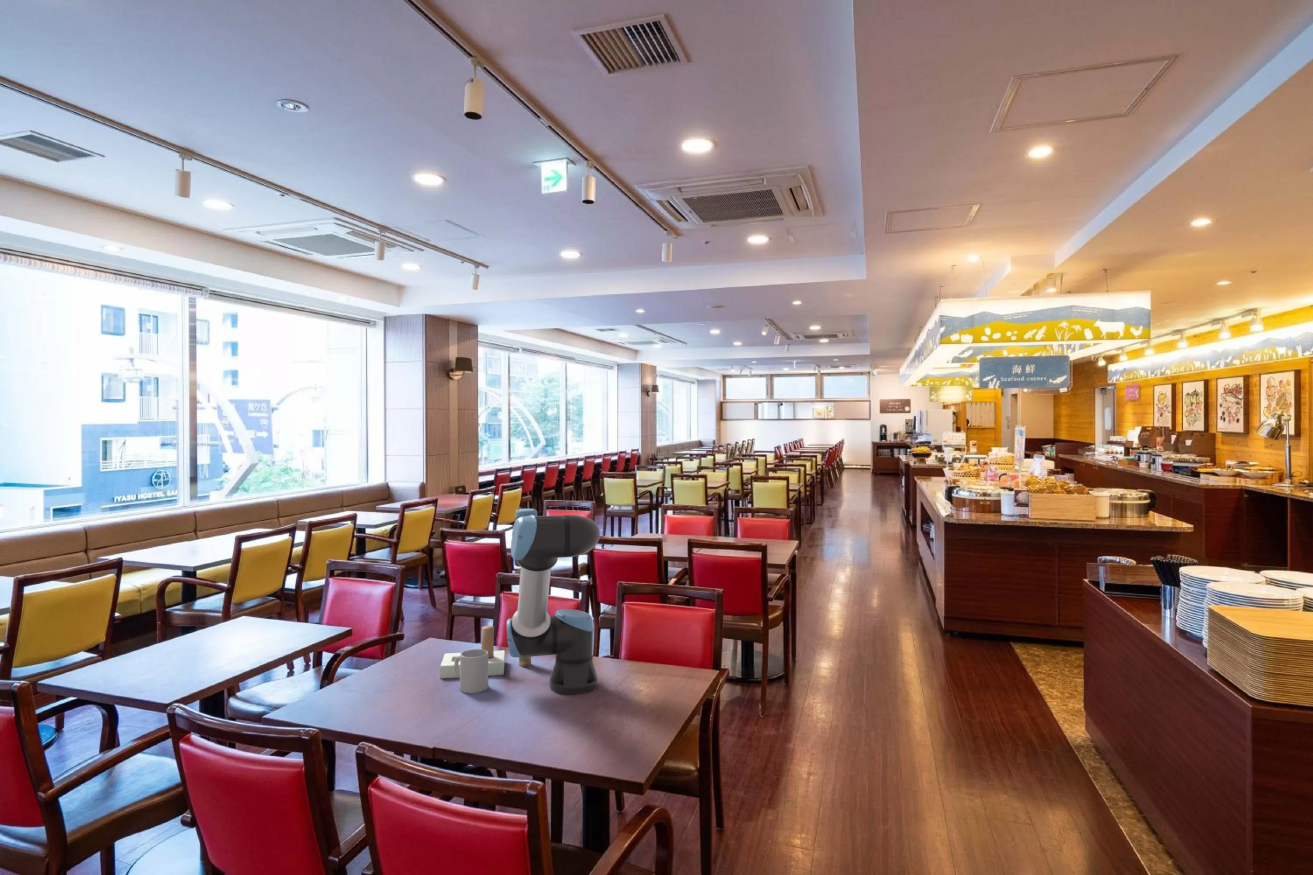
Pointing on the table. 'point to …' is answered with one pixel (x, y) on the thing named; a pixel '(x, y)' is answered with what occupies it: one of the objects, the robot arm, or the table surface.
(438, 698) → the table surface
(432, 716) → the table surface
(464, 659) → the mug
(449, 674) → the cream base with post
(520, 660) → the oak leg
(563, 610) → the robot arm
